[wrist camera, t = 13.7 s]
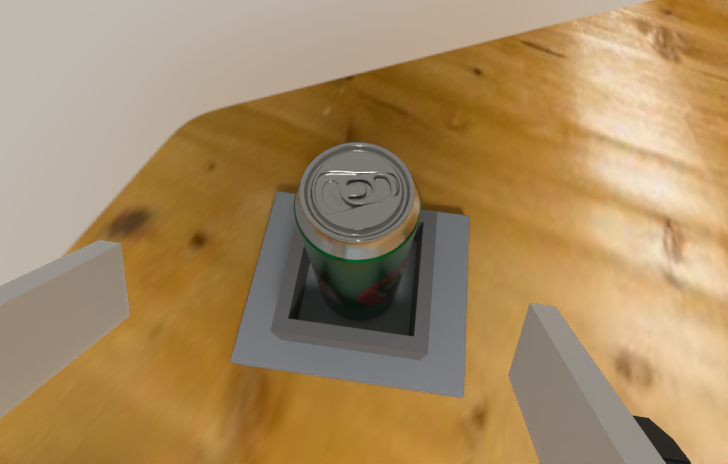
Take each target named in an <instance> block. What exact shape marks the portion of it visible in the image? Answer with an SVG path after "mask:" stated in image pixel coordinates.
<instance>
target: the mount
mask: <svg viewBox="0 0 728 464" xmlns="http://www.w3.org/2000/svg"><path fill="white" fill-rule="evenodd" d="M294 198H295V194H294V193H286V192H278V191H277V193H276V197H275V200H274V204H273V208H272V211H271V215H270V219H269V222H268V226H267V230H266V233H265V237H264V241H263V244H262V248H261V252H260V255H259V259H258V263H257V266H256V270H255V274H254V277H253V281H252V285H251V288H250V292H249V295H248V299H247V303H246V306H245V310H244V314H243V317H242V321H241V325H240V328H239V332H238V336H237V339H236V343H235V347H234V350H233V354H232V358H231V361H230V362H232V363H235V364H240V365H247V366H254V367H260V368H267V369H273V370H280V371H286V372H293V373H300V374H306V375H313V376H319V377H326V378H333V379H339V380H346V381H352V382H359V383H366V384H372V385H379V386H385V387H392V388H399V389H405V390H412V391H418V392H425V393H431V394H438V395H445V396H451V397H458V398H463V397H464V378H465V343H466V308H467V274H468V239H469V216H467V215H460V214H452V213H444V212H436V211H428V210H421V215H420V219H419V223H418V226H417V230H416V233H415V236H414V239H413V243H412V246H411V249H410V252H409V256H408V259H407V262H406V265H405V269H404V272H403V275H402V278H401V282H400V285H399V288H398V291H397V294H396V297H395V299H394V301H393V302H392V304H391V305H390V306H389V307H388V309H386V310H385V311H384V312H383V313H381V314H380V315H378V316H376V317H374V318H371V319H366V320H351V319H347V318H344V317H342V316H340V315H338V314H337V313H335V312H334V311H333V310H332V309H331V308H330V307H329V306H328V305H327V304H326V302H325V300H324V299H323V296H322V294H321V291H320V288H319V285H318V282H317V280H316V277H315V274H314V271H313V268H312V266H311V263H310V260H309V257H308V254H307V252H306V249H305V246H304V243H303V240H302V238H301V235H300V232H299V229H298V226H297V224H296V221H295V216H294Z"/></svg>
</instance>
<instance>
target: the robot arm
mask: <svg viewBox="0 0 728 464" xmlns="http://www.w3.org/2000/svg"><path fill="white" fill-rule="evenodd" d="M129 316H130V312H129V304H128V296H127V287H126V279H125V271H124V263H123V255H122V247H121V243H116V242H109V241H102V240H98V241H96V242H94V243H92V244H89V245H87V246H85V247H83V248H81V249H79V250H77V251H74V252H72V253H70V254H68V255H66V256H64V257H62V258H59V259H57V260H55V261H53V262H51V263H49V264H47V265H45V266H42V267H40V268H38V269H36V270H34V271H32V272H30V273H28V274H25V275H23V276H21V277H19V278H17V279H15V280H13V281H10V282H9V283H6V284H4V285H2V286H0V418H2V417H3V416H4V415H5V414H7V413H8V412H9V411H11V410H12V409H13V408H14V407H16V406H17V405H18V404H19V403H21V402H22V401H23V400H24V399H26V398H27V397H28V396H29V395H31V394H32V393H33V392H34V391H36V390H37V389H38V388H39V387H41V386H42V385H43V384H45V383H46V382H47V381H48V380H50V379H51V378H52V377H53V376H55V375H56V374H57V373H58V372H60V371H61V370H62V369H63V368H65V367H66V366H67V365H68V364H70V363H71V362H72V361H73V360H75V359H76V358H77V357H79V356H80V355H81V354H82V353H84V352H85V351H86V350H87V349H89V348H90V347H91V346H92V345H94V344H95V343H96V342H97V341H99V340H100V339H101V338H102V337H104V336H105V335H106V334H108V333H109V332H110V331H111V330H113V329H114V328H115V327H116V326H118V325H119V324H120V323H121V322H123V321H124V320H125V319H126V318H128V317H129ZM508 376H509V379H510V382H511V384H512V387H513V390H514V393H515V395H516V398H517V401H518V404H519V406H520V409H521V412H522V415H523V417H524V420H525V423H526V426H527V429H528V431H529V434H530V437H531V440H532V442H533V445H534V448H535V451H536V453H537V456H538V459H539V462H540V464H691V462H690V460H689V459H688V458H687V457H686V455H685V454H684V453H683V451H682V450H681V449H680V448H679V446H678V445H677V444H676V442H675V441H674V440H673V439H672V438H671V437H670V436H669V435H668V434H666V433H665V432H664V431H663V430H662V429H661V428H659V427H658V426H657V425H656V424H655V423H654V422H652V421H651V420H650V419H649V418H645V417H638V416H632V415H631V413H630V412H629V410H628V409H627V408H626V406H625V405H624V403H623V402H622V400H621V399H620V398H619V396H618V395H617V393H616V392H615V391H614V389H613V388H612V386H611V385H610V383H609V382H608V381H607V379H606V378H605V376H604V375H603V373H602V372H601V371H600V369H599V368H598V366H597V365H596V364H595V362H594V361H593V359H592V358H591V356H590V355H589V354H588V352H587V351H586V349H585V348H584V346H583V345H582V344H581V342H580V341H579V339H578V338H577V337H576V335H575V334H574V332H573V331H572V329H571V328H570V327H569V325H568V324H567V322H566V321H565V319H564V318H563V317H562V315H561V314H560V312H559V311H558V310H557V308H556V307H555V306H548V305H541V304H534V303H530V304H529V307H528V311H527V314H526V317H525V321H524V324H523V328H522V331H521V334H520V338H519V341H518V344H517V348H516V351H515V355H514V358H513V361H512V365H511V368H510V371H509V375H508Z"/></svg>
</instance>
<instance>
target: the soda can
mask: <svg viewBox="0 0 728 464" xmlns="http://www.w3.org/2000/svg"><path fill="white" fill-rule="evenodd" d="M420 215H421V199H420V194H419V191H418V188H417V186H416V184H415V182H414V180H413V178H412V175H411V173H410V171H409V169H408V168H407V166H406V165H405V164H404V162H403V161H402V160H401V159H400V158H399V157H398V156H397V155H395V154H394V153H392V152H391V151H389V150H387V149H385V148H383V147H381V146H378V145H375V144H370V143H363V142H352V143H345V144H340V145H337V146H334V147H332V148H329V149H327V150H325V151H324V152H322V153H321V154H319V155H318V156H317V157H316V158H315V159H314V160H313V161H312V162H311V163H310V164H309V165H308V167H307V168H306V170H305V172H304V174H303V176H302V179H301V182H300V184H299V185H298V188H297V191H296V193H295V198H294V216H295V221H296V224H297V226H298V229H299V232H300V235H301V238H302V240H303V243H304V246H305V249H306V252H307V254H308V257H309V260H310V263H311V266H312V268H313V271H314V274H315V277H316V280H317V282H318V285H319V288H320V291H321V294H322V296H323V299H324V300H325V302H326V304H327V305H328V306H329V307H330V308H331V309H332V310H333V311H334V312H335V313H337V314H338V315H340V316H342V317H344V318H347V319H351V320H366V319H371V318H374V317H376V316H378V315H380V314H381V313H383V312H384V311H385V310H386V309H388V307H389V306H390V305H391V304H392V302H393V301H394V299H395V297H396V294H397V291H398V288H399V285H400V282H401V278H402V275H403V272H404V269H405V265H406V262H407V259H408V256H409V252H410V249H411V246H412V243H413V239H414V236H415V233H416V230H417V226H418V223H419V219H420Z"/></svg>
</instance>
